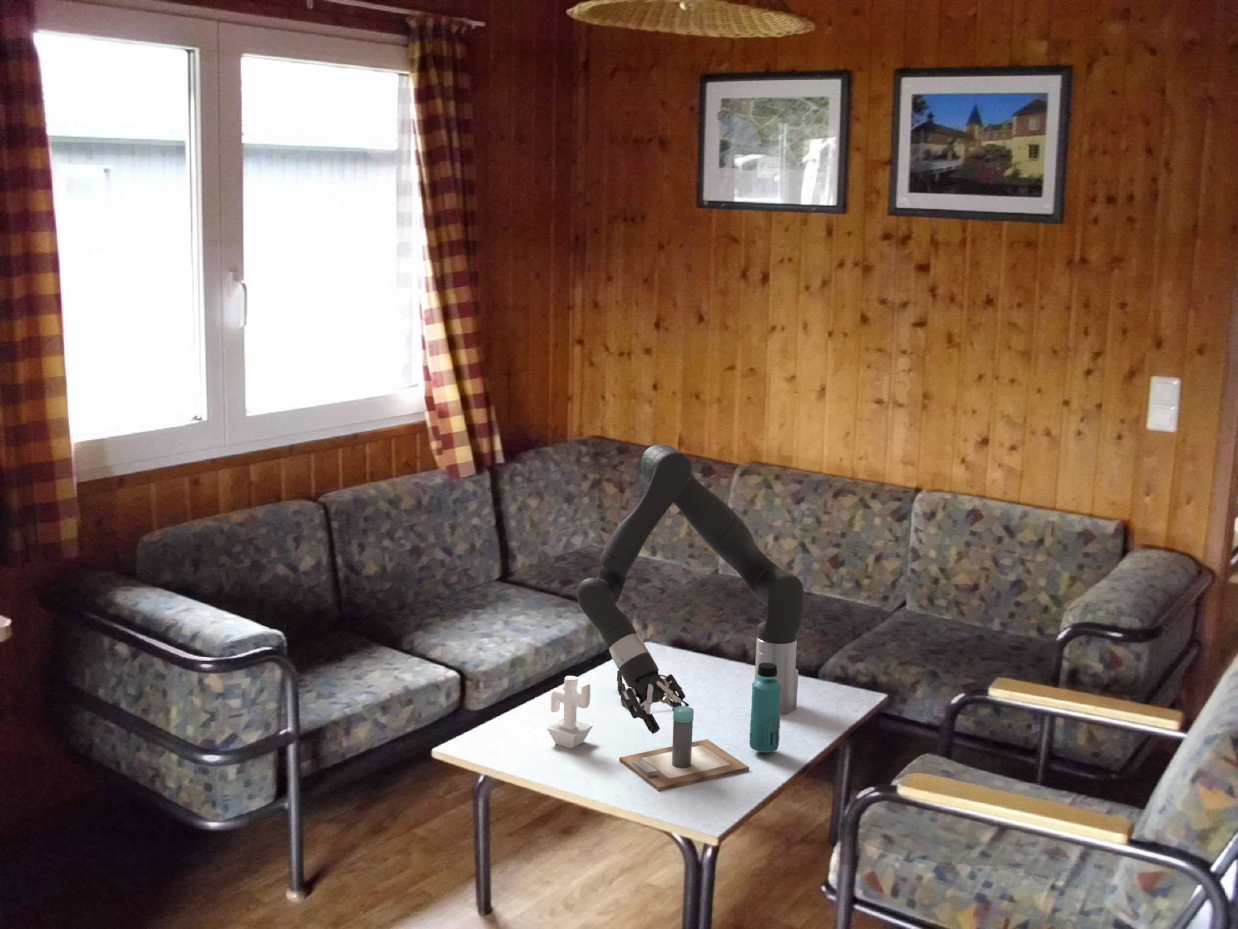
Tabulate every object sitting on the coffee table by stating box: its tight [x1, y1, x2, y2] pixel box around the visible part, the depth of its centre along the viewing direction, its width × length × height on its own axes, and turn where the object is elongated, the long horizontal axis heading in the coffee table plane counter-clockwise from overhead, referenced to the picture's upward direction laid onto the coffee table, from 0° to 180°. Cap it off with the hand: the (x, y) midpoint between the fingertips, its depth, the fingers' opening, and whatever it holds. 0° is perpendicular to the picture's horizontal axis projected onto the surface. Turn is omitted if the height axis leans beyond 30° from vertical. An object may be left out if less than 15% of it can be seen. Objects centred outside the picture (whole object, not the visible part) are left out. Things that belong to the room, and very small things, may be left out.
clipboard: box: [618, 738, 750, 792], centre depth 281 cm, size 22×16×2 cm
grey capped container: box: [672, 705, 695, 768], centre depth 279 cm, size 4×4×12 cm
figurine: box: [546, 675, 594, 749], centre depth 290 cm, size 7×9×15 cm
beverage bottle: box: [748, 662, 782, 753], centre depth 287 cm, size 6×7×20 cm
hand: (670, 726), depth 281 cm, fingers open, 8 cm apart
